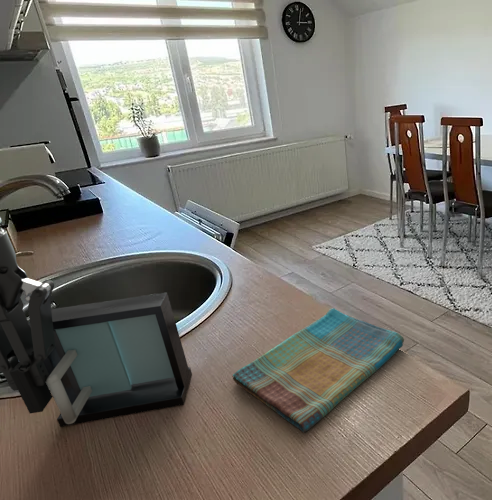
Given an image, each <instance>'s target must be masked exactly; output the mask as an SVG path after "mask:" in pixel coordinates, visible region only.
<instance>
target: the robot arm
mask: <svg viewBox="0 0 492 500" xmlns="http://www.w3.org/2000/svg"><path fill="white" fill-rule="evenodd" d="M2 221H3V220H2V217H0V224H2ZM54 288H55V283H54V281H52V280H50V279H46V280H44V281H42V282H41V281H37V280H35V279H31V278H29V277H28V274H27V273H26V271H25V270H23V269H22V268H21V267H20V266H19V264H18V262H17V254H16V251H15V249H14V247H13V244H12V242H11V240H10V237H9V235H8V231H7V230H6V229H4V228H2V227H0V372H1V373H2V374H3V376H4V378H5V380H6V381H7V384H8V386H9V388H10V389H11V390H12V391H14V392H15V391H18V393H19V395H20V397H21V399H22V401H23V403H24V405H25V407H26V409H27V411H28V413H29V414H37V413H42V412H43V411H44V410H45V409H46V407H47V406H48V405H49V403H50V401H51V400H52V399H53V396H52V393H51V391H50V389H49V387H48V385H47V382H46V380H47V378H48V376H49V373H48V372H47V369H46V367H45V365H44V362H43V361H44V360H45V359H46V358H47V357H48V355H49V354H50V353H51V352H52V351H53V349H54V348H55V339H54V330H53V321H52V312H51V309H52V305H51V303H52V302H51V297H52V293H53V291H54ZM23 292H24V293H25V294H24V295H25V297H24V299H25V300H26V301H28V304H27V305H28V306H27V309H28V310H27V312H28V317H29V319H28V318H27V315H26V313H25V311H24V302H23V300H22V295H23ZM28 320H29V321H28ZM29 323H30V325H29Z"/></svg>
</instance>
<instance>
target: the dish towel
mask: <svg viewBox="0 0 492 500" xmlns="http://www.w3.org/2000/svg"><path fill="white" fill-rule="evenodd" d="M404 342H405V338H404V336H402V335H401V334H400V333H398V332H396V331H393V330H390V329H387V328H384V327H380V326H377V325H374V324H372V323H369V322H366V321H364V320H361V319H358V318H354V317H352V316H351V315H347V314H345V313H343V312H341V311H340V310H337V309H336V308H335V307H333V308H329V309H328V311H327V312H326V313H325V314H324V315H323V316H322V317H320V318H319V319H317V320H315V321H313V322H312V323H311V324H308V325H307V326H305V327H304V328H302V329H300V330H298V331H297V332H295V333H293V334H292V335H291V336H290V337H288V338H286V339H285V340H283V341H282V342H280V343H279V344H277V345H276V346H275V347H272V349H269V351H266V353H264V354H262V355H261V356H259V357H257V358H256V359H254V360H253V361H251V362H250V363H248V364H246V365H245V366H243V367H241V368H240V369H238V370H237V371H236V372H234V373H233V374H232V381H234V383H235V384H237V385H238V386H240V387H241V388H242V389H244V391H245V392H248V393H249V394H250V395H252V396H254V397H255V398H256V399H258V400H259V401H260V402H261V403H263V404H264V405H266V407H268V408H270V409H271V410H272V411H273V412H275V413H276V414H278V415H279V416H281V418H283V419H284V420H285V421H288V423H290V424H291V425H293V426H294V427H295V428H297V429H299V431H301V432H302V433H306V432H308V431H309V430H310V429H311V428H312V427H314V426H315V425H316V424H317V423H319V422H320V421H321V420H322V419H324V417H326V416H327V415H328V414H329V413H330V412H332V410H333V409H335V407H336V406H338V405H339V404H340V403H341V402H342V401H343V400H344V399H345V398H346V397H348V396H349V395H350V394H351V393H352V392H354V390H356V389H357V388H358V387H359V386H360V385H361V384H362V383H364V382H365V381H366V380H367V379H368V378H370V377H371V376H372V375H373V374H374V373H375V372H377V371H378V370H380V368H382V367H383V366H384V365H385V364H386V363H387V362H388V361H389V360H390V359H391V358H392V356H394V355H395V354H396V352H398V351H399V350H400V349H401V348H402V347H403V346H404Z"/></svg>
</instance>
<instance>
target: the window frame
mask: <svg viewBox="0 0 492 500" xmlns="http://www.w3.org/2000/svg"><path fill="white" fill-rule="evenodd" d="M168 294H169V293H168V292H161V293H153V294H147V295H140V296H133V297H126V298H121V299H120V298H118V299H113V300H106V301H98V302H92V303H85V304H77V305H71V306H63V307H57V308H51V312H52V321H53V330H55V329H62V328H68V327H75V326H82V325H88V324H95V323H101V322H109V325H110V327H111V330H112V333H113V336H114V339H115V341H116V344H117V347H118V350H119V353H120V355H121V358H122V361H123V364H124V366H125V369H126V372H127V375H128V378H129V380H130V383H131V386H132V388H131V390H126V391H120V392H114V393H109V394H103V395H97V396H91V397H89V398H88V399H87V401H86V403H85V405H84V406H83V408H82V410H81V412H80V413H79V415H78V417H77V419H76V421H75V422H74V423H72V424H66V423H65V422H64V420H63V417H62V415H61V413H59V415H58V417H57V418H56V421H57V423H58V425H59V427H60V428H63V427H64V428H65V427H70V426H74V425H79V424H86V423H90V422H96V421H102V420H107V419H113V418H118V417H124V416H125V417H126V416H130V415H135V414H136V415H137V414H140V413H146V412H152V411H157V410H162V409H168V408H174V407H180V406H184V405H185V404H186V403H185V402H186V400H187V399H186V398H187V395H188V391H189V388H190V383H191V380H192V376H193V371H192V369H191V367H190V366H189V365H188V362H187V358H186V354H185V351H184V347H183V344H182V340H181V337H180V333H179V330H178V327H177V323H176V319H175V316H174V312H173V309H172V305H171V301H170V298H169V295H168ZM28 323H29V325H30V322H28ZM60 361H61V359H60V357H59V355H58V352H57V350H56V348H54V349H53V351H52V352H51V353H50V354H49V355H48V357H47V358H46V359H45V360H44V361H43V362H44V365H45V367H46V369H47V372H48V373H49V375H50V374H51V373H52V371H53V370H54V369H55V367H56V366H57V365H58V363H59V362H60ZM60 380H61V382H62V384H63V386H64V389H65V391H66V393H67V396H68V398H69V400H70V402H71V405H73V403H74V402H75V400H76V398H77V397H76V394H75V392H74V390H73V387H72V385H71V383H70V380H69V378H68V376H67V373H66V372H65V374H64V375H63V376H62V378H61V379H60Z"/></svg>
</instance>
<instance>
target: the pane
mask: <svg viewBox="0 0 492 500" xmlns="http://www.w3.org/2000/svg"><path fill="white" fill-rule="evenodd" d="M54 339H55V348H56V350H57V352H58V355H59V357H60V359H61V361H60V362H59V363H58V365H57V366H56V367H55V369H54V370H53V371H52V373H51V374H50V375H49V376H48V378H47V380H46V383H47V385H48V388H49V390H50V392H51V394H52V396H53V397H52V399H53V400H54V402H55V404H56V407H57V408H58V411H59V414H61V415H62V417H63V420H64V422H65V423H66V424H72V423H74V422H75V421H76V419H77V417H78V415H79V413H80V412H81V410H82V408H83V406H84V405H85V403H86V401H87V399H88V398H89V397H91V396H97V395H103V394H109V393H114V392H120V391H126V390H131V388H132V386H131V383H130V380H129V378H128V375H127V372H126V369H125V366H124V364H123V361H122V358H121V355H120V353H119V350H118V347H117V344H116V341H115V339H114V336H113V333H112V330H111V327H110V325H109V322H101V323H95V324H88V325H82V326H75V327H68V328H62V329H55V330H54ZM65 372H66V373H67V376H68V378H69V380H70V383H71V385H72V387H73V390H74V392H75V394H76V397H77V398H76V400H75V402H74V403H73V405H71V402H70V400H69V398H68V396H67V393H66V391H65V389H64V386H63V384H62V382H61V380H60V379H61V378H62V376H63V375H64V374H65Z"/></svg>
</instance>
